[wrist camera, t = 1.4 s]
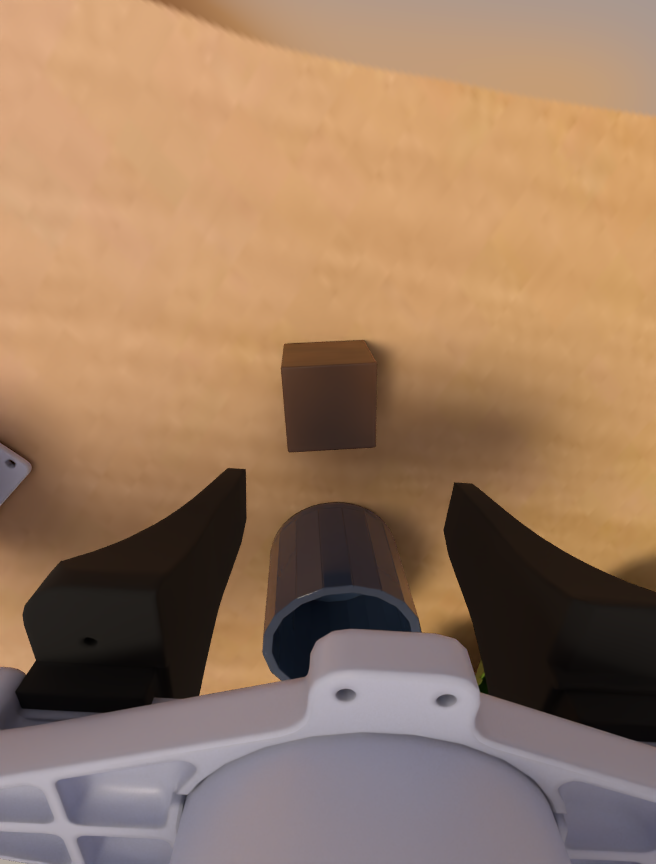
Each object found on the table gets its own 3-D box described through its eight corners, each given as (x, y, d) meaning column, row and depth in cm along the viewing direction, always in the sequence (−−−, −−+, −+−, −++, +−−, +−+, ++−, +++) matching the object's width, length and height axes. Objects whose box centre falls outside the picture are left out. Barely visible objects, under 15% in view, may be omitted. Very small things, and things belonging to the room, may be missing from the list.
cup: (244, 556, 28) (228, 651, 22) (336, 477, 26) (348, 557, 20) (330, 617, 31) (338, 717, 25) (420, 551, 29) (454, 641, 23)
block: (289, 417, 24) (287, 453, 21) (283, 343, 23) (280, 367, 19) (364, 413, 25) (375, 447, 21) (364, 339, 23) (377, 362, 19)
